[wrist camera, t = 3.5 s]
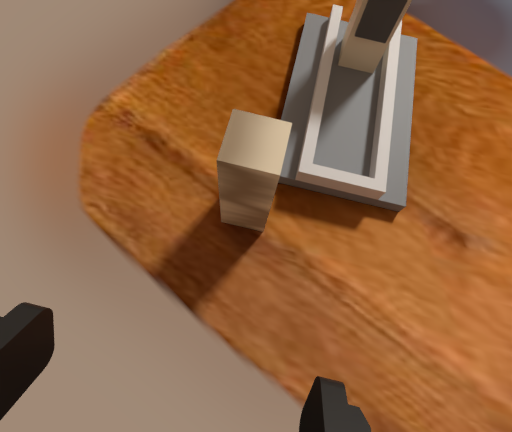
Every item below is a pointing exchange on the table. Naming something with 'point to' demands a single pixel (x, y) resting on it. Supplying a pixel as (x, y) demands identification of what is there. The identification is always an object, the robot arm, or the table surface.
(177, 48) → the table surface
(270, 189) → the maple finger
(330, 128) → the rail board
